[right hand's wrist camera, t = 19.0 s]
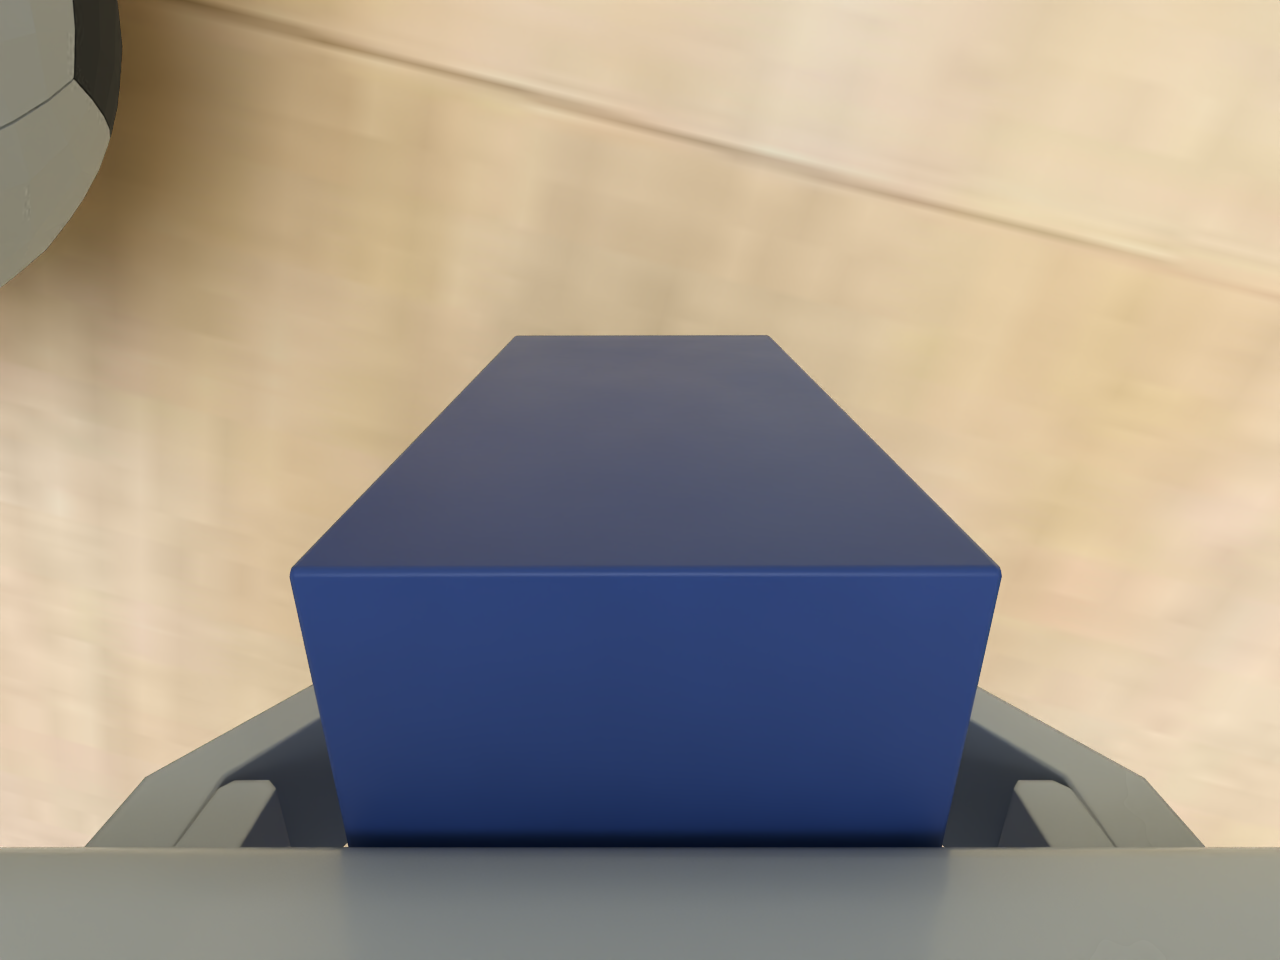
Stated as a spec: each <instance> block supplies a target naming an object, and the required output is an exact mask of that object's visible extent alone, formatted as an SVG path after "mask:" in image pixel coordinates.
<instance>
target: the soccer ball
mask: <svg viewBox="0 0 1280 960" xmlns="http://www.w3.org/2000/svg"><path fill="white" fill-rule="evenodd" d="M121 59H122V39H121V30H120V21H119V11H118V3H117V0H0V288H1V287H2V286H3V285H4V284H6V283H7V282H8V281H10V280H11V279H12V278H14V277H15V276H16V275H17V274H18V273H20V272H21V271H22V270H23V269H24V268H25V267H27V266H28V265H29V264H30V263H31V262H32V261H34V260H35V259H36V258H37V257H38V256H39V255H41V254H42V253H43V252H44V251H45V250H46V249H47V248H48V247H49V245H50V244H51V243H52V242H53V240H54V239H55V238H56V236H57V235H58V234H59V233H60V231H61V230H62V229H63V227H64V226H65V225H66V223H67V222H68V221H69V220H70V218H71V217H72V215H73V214H74V212H75V211H76V209H77V208H78V206H79V205H80V203H81V202H82V200H83V199H84V197H85V195H86V193H87V192H88V190H89V188H90V186H91V184H92V182H93V180H94V179H95V177H96V175H97V173H98V171H99V169H100V166H101V163H102V160H103V158H104V155H105V152H106V149H107V147H108V144H109V140H110V137H111V134H112V129H113V125H114V120H115V115H116V111H117V105H118V96H119V88H120V73H121Z"/></svg>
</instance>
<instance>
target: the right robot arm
mask: <svg viewBox="0 0 1280 960" xmlns="http://www.w3.org/2000/svg"><path fill="white" fill-rule="evenodd" d="M347 843H348V842H347V838H346V833H345V829H344V824H343V819H342V815H341V810H340V806H339V801H338V797H337V792H336V787H335V783H334V778H333V774H332V769H331V764H330V760H329V755H328V751H327V746H326V742H325V737H324V732H323V728H322V723H321V719H320V714H319V709H318V705H317V700H316V696H315V691H314V686H313V685H311V686H309V687H307V688H306V689H304V690H302V691H300V692H298V693H297V694H295V695H293V696H291V697H289V698H287V699H286V700H284V701H282V702H280V703H278V704H277V705H275V706H273V707H271V708H269V709H268V710H266V711H264V712H262V713H260V714H259V715H257V716H255V717H253V718H251V719H250V720H248V721H246V722H244V723H242V724H241V725H239V726H237V727H235V728H233V729H232V730H230V731H228V732H226V733H224V734H223V735H221V736H219V737H217V738H215V739H214V740H212V741H210V742H208V743H206V744H204V745H203V746H201V747H199V748H197V749H195V750H194V751H192V752H190V753H188V754H186V755H185V756H183V757H181V758H179V759H177V760H176V761H174V762H172V763H170V764H168V765H167V766H165V767H163V768H161V769H159V770H158V771H156V772H154V773H152V774H150V775H149V776H147V777H145V778H144V779H143V781H142V782H141V783H140V784H139V785H138V786H137V788H136V789H135V790H134V791H133V792H132V793H131V794H130V796H129V797H128V798H127V799H126V800H125V801H124V802H123V804H122V805H121V806H120V807H119V808H118V809H117V810H116V812H115V813H114V814H113V815H112V816H111V817H110V818H109V820H108V821H107V822H106V823H105V824H104V825H103V826H102V828H101V829H100V830H99V831H98V832H97V833H96V834H95V836H94V837H93V838H92V839H91V840H90V841H89V842H88V844H87V845H86V846H85V847H0V960H1280V847H1205V846H1204V845H1203V844H1202V843H1201V841H1200V840H1199V839H1198V838H1197V837H1196V836H1195V835H1194V834H1193V832H1192V831H1191V830H1190V829H1189V828H1188V827H1187V826H1186V824H1185V823H1184V822H1183V821H1182V820H1181V819H1180V818H1179V817H1178V815H1177V814H1176V813H1175V812H1174V811H1173V810H1172V809H1171V807H1170V806H1169V805H1168V804H1167V803H1166V802H1165V801H1164V800H1163V798H1162V797H1161V796H1160V795H1159V794H1158V793H1157V792H1156V791H1155V789H1154V788H1153V787H1152V786H1151V785H1150V784H1149V783H1148V781H1147V780H1146V779H1145V778H1143V777H1141V776H1140V775H1138V774H1136V773H1134V772H1132V771H1131V770H1129V769H1127V768H1125V767H1123V766H1121V765H1120V764H1118V763H1116V762H1114V761H1112V760H1111V759H1109V758H1107V757H1105V756H1103V755H1102V754H1100V753H1098V752H1096V751H1094V750H1092V749H1091V748H1089V747H1087V746H1085V745H1083V744H1082V743H1080V742H1078V741H1076V740H1074V739H1072V738H1071V737H1069V736H1067V735H1065V734H1063V733H1062V732H1060V731H1058V730H1056V729H1054V728H1052V727H1051V726H1049V725H1047V724H1045V723H1043V722H1042V721H1040V720H1038V719H1036V718H1034V717H1033V716H1031V715H1029V714H1027V713H1025V712H1023V711H1022V710H1020V709H1018V708H1016V707H1014V706H1013V705H1011V704H1009V703H1007V702H1005V701H1003V700H1002V699H1000V698H998V697H996V696H994V695H993V694H991V693H989V692H987V691H985V690H984V689H982V688H980V687H978V686H977V690H976V694H975V699H974V704H973V708H972V713H971V717H970V722H969V726H968V731H967V735H966V740H965V744H964V749H963V753H962V758H961V762H960V767H959V771H958V776H957V780H956V785H955V789H954V794H953V798H952V803H951V807H950V812H949V816H948V821H947V825H946V830H945V834H944V839H943V843H942V845H943V846H944V847H343V846H344V845H346V844H347Z"/></svg>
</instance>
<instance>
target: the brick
mask: <svg viewBox="0 0 1280 960" xmlns="http://www.w3.org/2000/svg"><path fill="white" fill-rule="evenodd" d="M1001 577H1002V575H1001V570H1000V567H999V566H998V565H997V564H996V563H995V562H994V561H993V560H992V559H991V558H990V557H989V556H988V555H987V554H986V553H985V552H984V551H983V550H982V549H981V548H980V547H979V546H978V545H977V544H976V543H975V542H974V541H973V540H972V539H971V538H970V537H969V536H968V535H967V534H966V533H965V532H964V531H963V530H962V529H961V528H960V527H959V526H958V525H957V524H956V523H955V522H954V521H953V520H952V519H951V518H950V517H949V516H948V515H947V514H946V513H945V512H944V511H943V510H942V509H941V508H940V507H939V506H938V505H937V504H936V503H935V502H934V501H933V500H932V499H931V498H930V497H929V496H928V495H927V494H926V493H925V492H924V491H923V490H922V489H921V488H920V487H919V486H918V485H917V484H916V483H915V482H914V481H913V480H912V479H911V478H910V477H909V476H908V475H907V474H906V473H905V472H904V471H903V470H902V469H901V468H900V467H899V466H898V465H897V464H896V463H895V462H894V461H893V460H892V459H891V458H890V457H889V456H888V455H887V454H886V453H885V452H884V451H883V450H882V449H881V448H880V447H879V446H878V445H877V444H876V443H875V442H874V441H873V440H872V439H871V438H870V437H869V436H868V435H867V434H866V433H865V432H864V431H863V430H862V429H861V428H860V427H859V426H858V425H857V424H856V423H855V422H854V421H853V420H852V419H851V418H850V417H849V416H848V415H847V414H846V413H845V412H844V411H843V410H842V409H841V408H840V407H839V406H838V405H837V404H836V403H835V402H834V401H833V400H832V399H831V398H830V397H829V396H828V395H827V394H826V393H825V392H824V391H823V390H822V389H821V388H820V387H819V386H818V385H817V384H816V383H815V382H814V381H813V380H812V379H811V378H810V377H809V376H808V375H807V374H806V373H805V372H804V371H803V370H802V369H801V368H800V367H799V366H798V365H797V364H796V363H795V362H794V361H793V360H792V359H791V358H790V357H789V356H788V355H787V354H786V353H785V352H784V351H783V350H782V349H781V348H780V347H779V346H778V345H777V344H776V343H775V342H774V341H773V340H772V339H771V338H770V337H769V336H767V335H698V336H515V337H514V338H513V339H512V340H511V341H510V342H509V343H508V344H507V345H506V346H505V347H504V348H503V350H502V351H501V352H500V353H499V354H498V355H497V356H496V357H495V358H494V359H493V360H492V361H491V362H490V363H489V364H488V365H487V366H486V367H485V368H484V369H483V370H482V371H481V372H480V373H479V374H478V375H477V376H476V377H475V378H474V380H473V381H472V382H471V383H470V384H469V385H468V386H467V387H466V388H465V389H464V390H463V391H462V392H461V393H460V394H459V395H458V396H457V397H456V398H455V399H454V400H453V401H452V402H451V403H450V404H449V405H448V406H447V407H446V409H445V410H444V411H443V412H442V413H441V414H440V415H439V416H438V417H437V418H436V419H435V420H434V421H433V422H432V423H431V424H430V425H429V426H428V427H427V428H426V429H425V430H424V431H423V432H422V433H421V434H420V435H419V436H418V437H417V439H416V440H415V441H414V442H413V443H412V444H411V445H410V446H409V447H408V448H407V449H406V450H405V451H404V452H403V453H402V454H401V455H400V456H399V457H398V458H397V459H396V460H395V461H394V462H393V463H392V464H391V465H390V466H389V468H388V469H387V470H386V471H385V472H384V473H383V474H382V475H381V476H380V477H379V478H378V479H377V480H376V481H375V482H374V483H373V484H372V485H371V486H370V487H369V488H368V489H367V490H366V491H365V492H364V493H363V494H362V495H361V496H360V498H359V499H358V500H357V501H356V502H355V503H354V504H353V505H352V506H351V507H350V508H349V509H348V510H347V511H346V512H345V513H344V514H343V515H342V516H341V517H340V518H339V519H338V520H337V521H336V522H335V523H334V524H333V525H332V527H331V528H330V529H329V530H328V531H327V532H326V533H325V534H324V535H323V536H322V537H321V538H320V539H319V540H318V541H317V542H316V543H315V544H314V545H313V546H312V547H311V548H310V549H309V550H308V551H307V552H306V553H305V554H304V555H303V557H302V558H301V559H300V560H299V561H298V562H297V563H296V564H295V565H294V566H293V567H292V568H291V572H290V581H291V586H292V590H293V595H294V599H295V604H296V608H297V613H298V618H299V622H300V627H301V631H302V636H303V641H304V645H305V650H306V654H307V659H308V664H309V668H310V673H311V677H312V682H313V686H314V691H315V696H316V700H317V705H318V709H319V714H320V719H321V723H322V728H323V732H324V737H325V742H326V746H327V751H328V755H329V760H330V764H331V769H332V774H333V778H334V783H335V787H336V792H337V797H338V801H339V806H340V810H341V815H342V819H343V824H344V829H345V833H346V838H347V842H348V847H942V843H943V839H944V834H945V830H946V825H947V821H948V816H949V812H950V807H951V803H952V798H953V794H954V789H955V785H956V780H957V776H958V771H959V767H960V762H961V758H962V753H963V749H964V744H965V740H966V735H967V731H968V726H969V722H970V717H971V713H972V708H973V704H974V699H975V694H976V690H977V685H978V681H979V676H980V672H981V667H982V663H983V658H984V654H985V649H986V645H987V640H988V636H989V631H990V627H991V622H992V618H993V613H994V609H995V604H996V600H997V595H998V591H999V586H1000V582H1001Z"/></svg>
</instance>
